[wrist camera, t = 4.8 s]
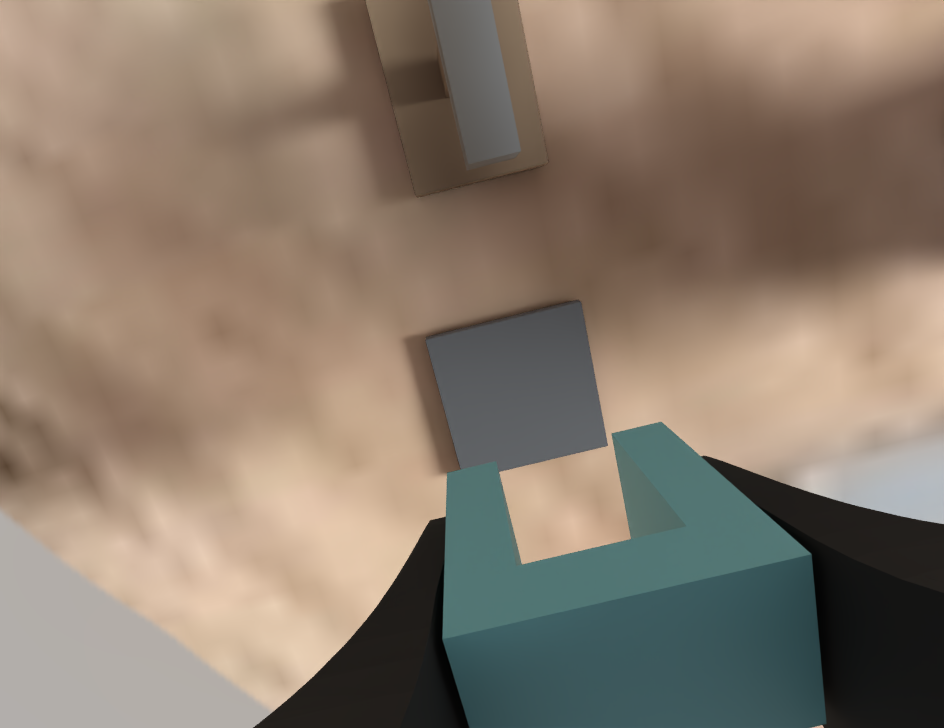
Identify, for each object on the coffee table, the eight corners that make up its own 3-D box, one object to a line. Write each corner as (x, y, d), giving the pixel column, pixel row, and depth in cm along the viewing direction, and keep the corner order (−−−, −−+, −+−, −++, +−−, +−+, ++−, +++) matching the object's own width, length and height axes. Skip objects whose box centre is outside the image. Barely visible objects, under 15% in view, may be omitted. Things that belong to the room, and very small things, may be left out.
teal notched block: (661, 421, 12) (811, 554, 7) (679, 531, 13) (826, 723, 8) (447, 472, 12) (442, 639, 7) (476, 578, 13) (490, 799, 8)
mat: (577, 299, 21) (580, 301, 20) (603, 440, 23) (607, 445, 22) (426, 336, 21) (425, 340, 20) (463, 473, 23) (463, 480, 22)
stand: (503, -43, 18) (533, -200, 11) (543, 165, 20) (589, 133, 13) (364, -7, 18) (315, -141, 11) (417, 197, 20) (400, 181, 13)
